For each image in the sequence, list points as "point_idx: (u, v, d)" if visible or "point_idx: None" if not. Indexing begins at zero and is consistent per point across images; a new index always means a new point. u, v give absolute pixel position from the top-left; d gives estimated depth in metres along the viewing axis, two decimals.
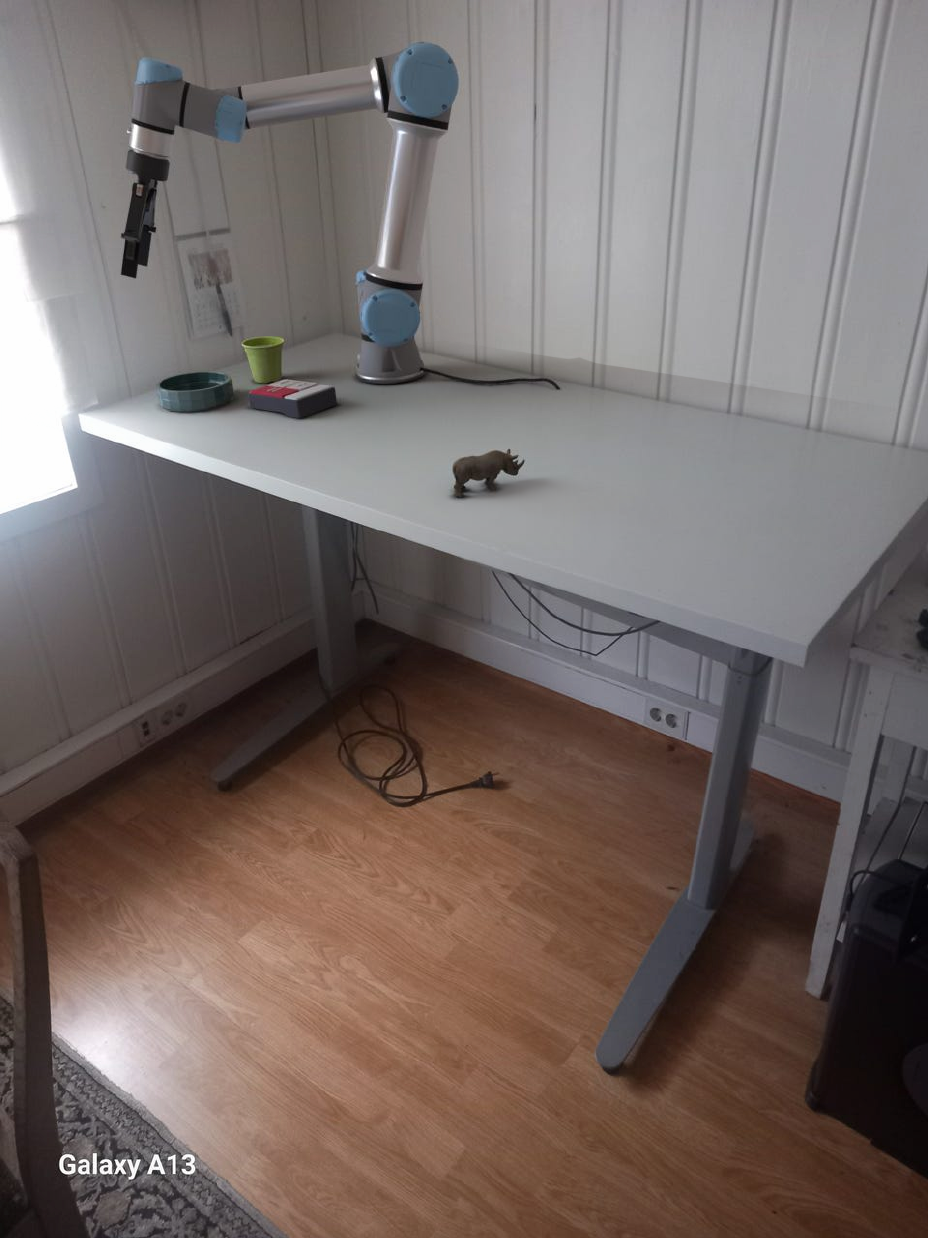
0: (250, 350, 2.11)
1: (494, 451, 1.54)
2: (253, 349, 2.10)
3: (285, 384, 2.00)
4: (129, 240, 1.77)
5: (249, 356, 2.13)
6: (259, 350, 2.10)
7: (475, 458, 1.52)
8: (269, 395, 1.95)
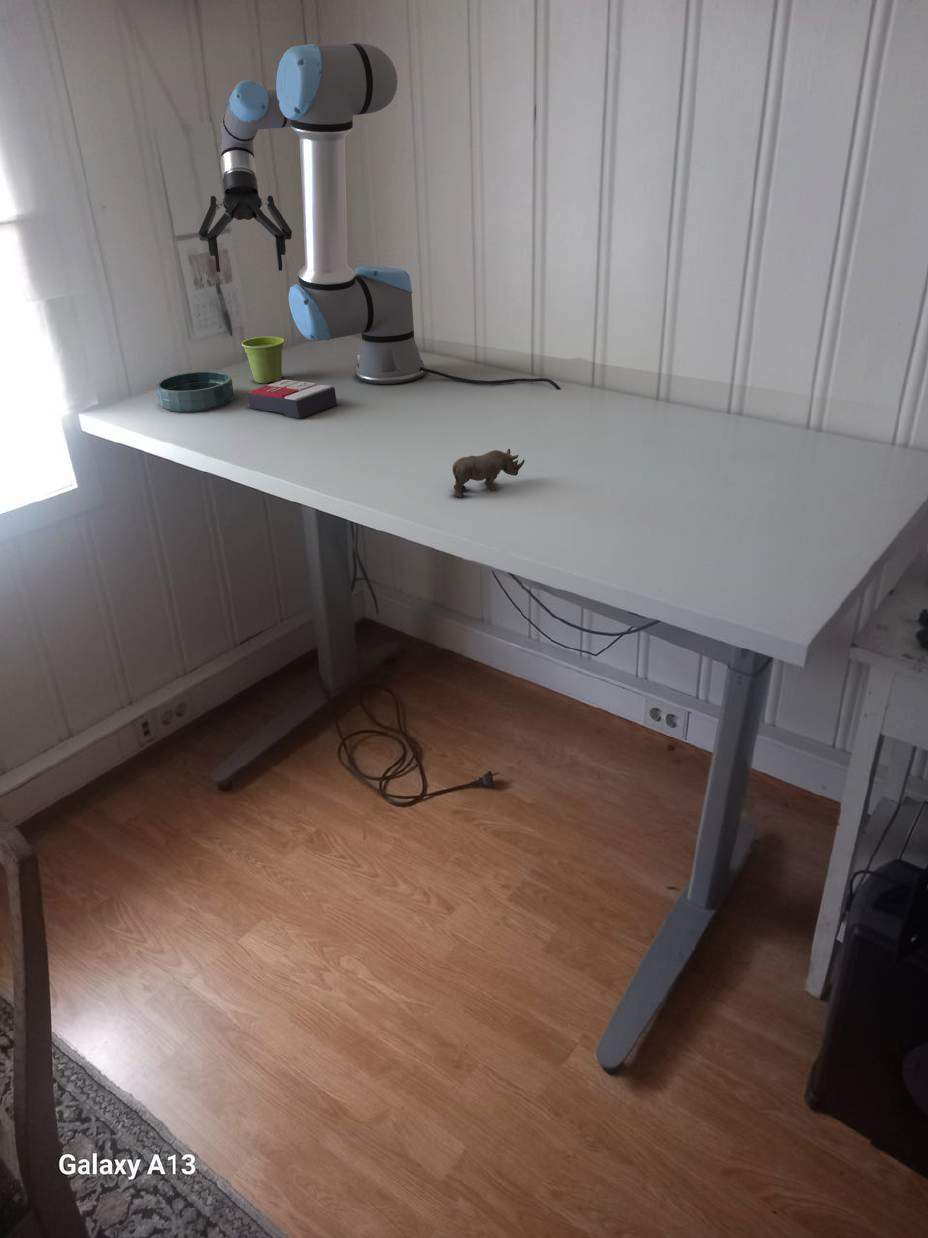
0: (250, 350, 2.11)
1: (494, 451, 1.54)
2: (253, 349, 2.10)
3: (284, 384, 2.00)
4: None
5: (249, 356, 2.13)
6: (259, 350, 2.10)
7: (475, 458, 1.52)
8: (269, 395, 1.95)
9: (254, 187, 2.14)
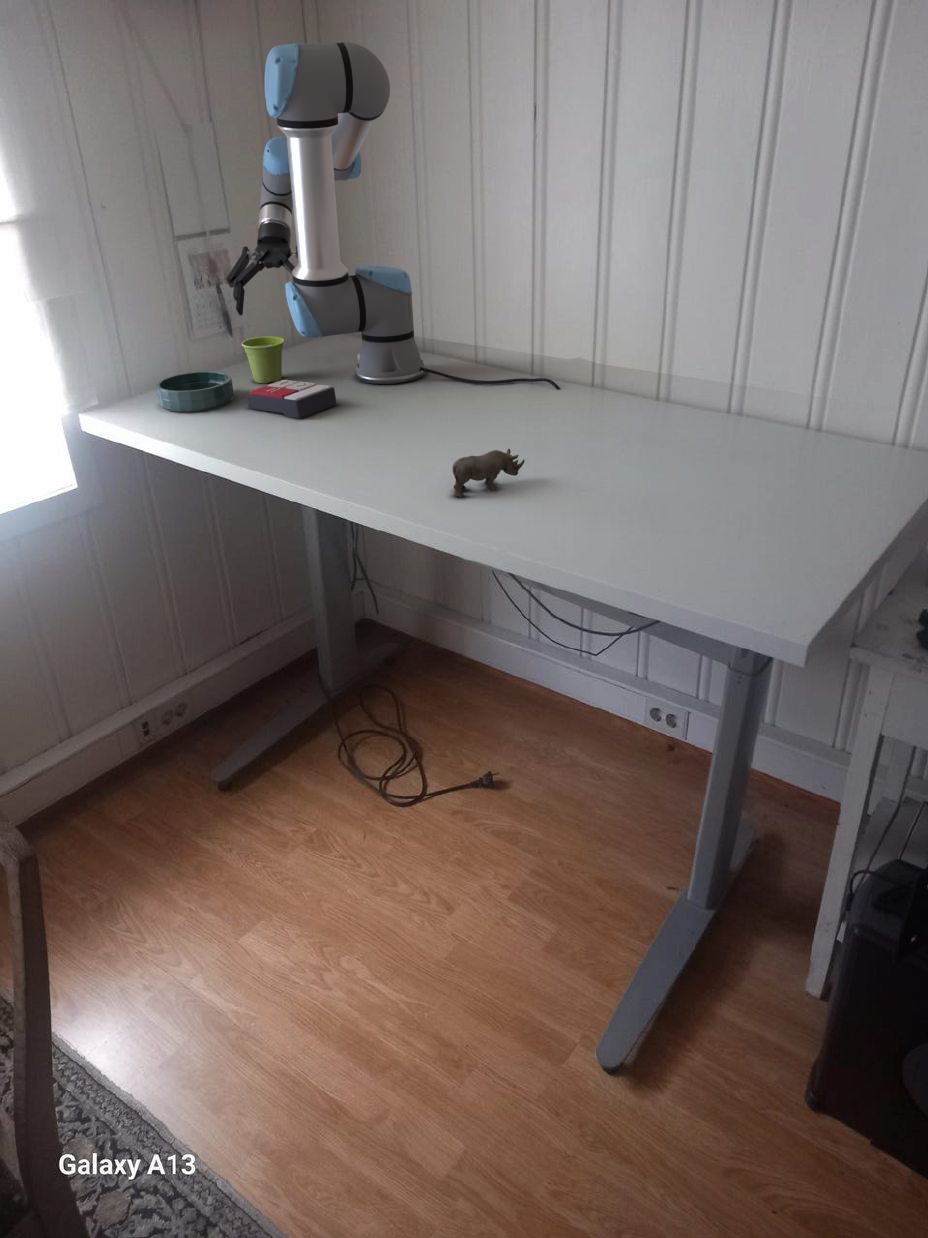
0: (250, 350, 2.11)
1: (494, 451, 1.54)
2: (253, 349, 2.10)
3: (284, 384, 2.00)
4: (234, 287, 2.22)
5: (249, 356, 2.13)
6: (259, 350, 2.10)
7: (475, 458, 1.52)
8: (268, 395, 1.95)
9: (283, 237, 2.21)
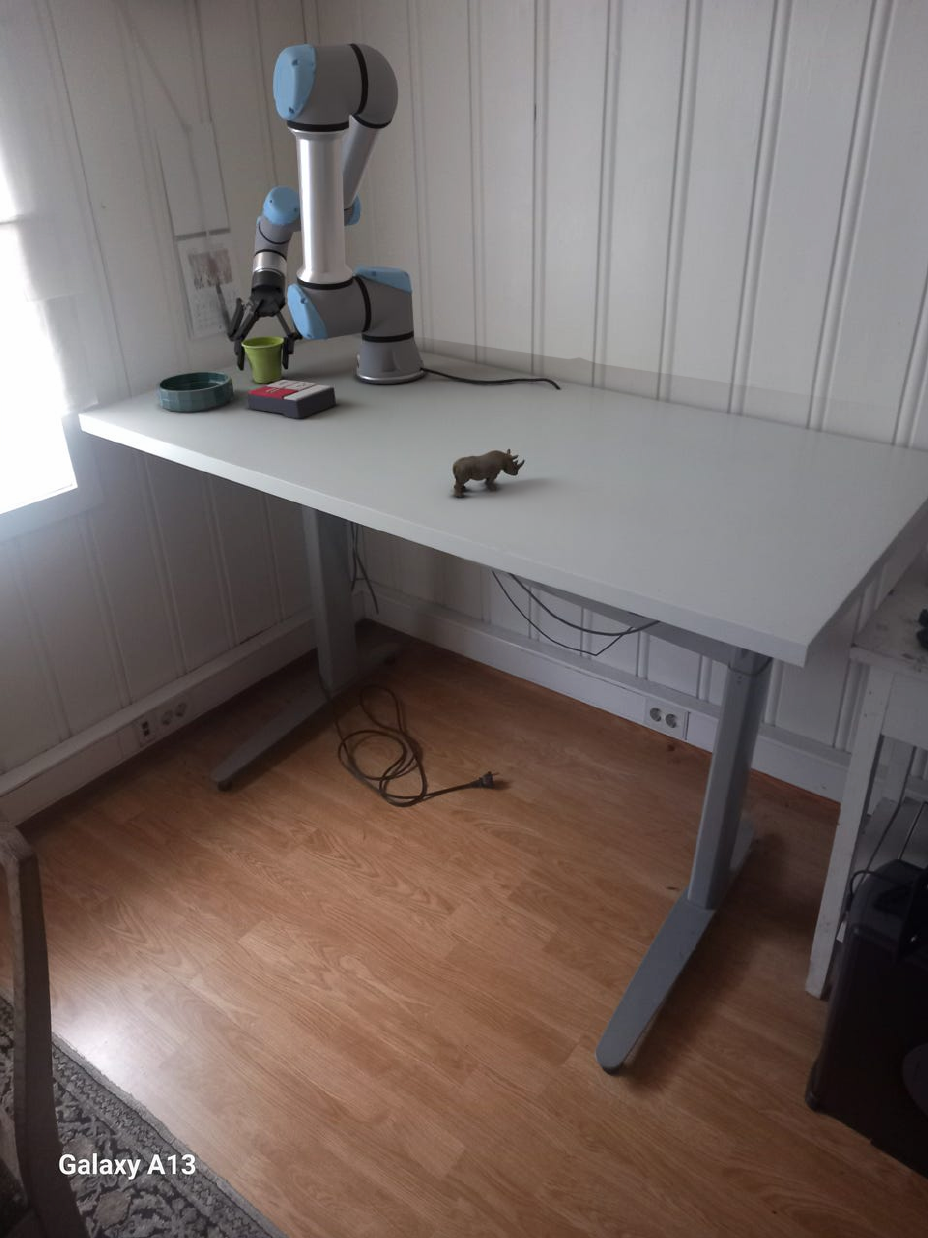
0: (250, 350, 2.11)
1: (494, 451, 1.54)
2: (253, 349, 2.10)
3: (283, 385, 2.00)
4: (235, 341, 2.16)
5: (249, 356, 2.13)
6: (259, 350, 2.10)
7: (475, 458, 1.52)
8: (268, 396, 1.95)
9: (278, 286, 2.16)
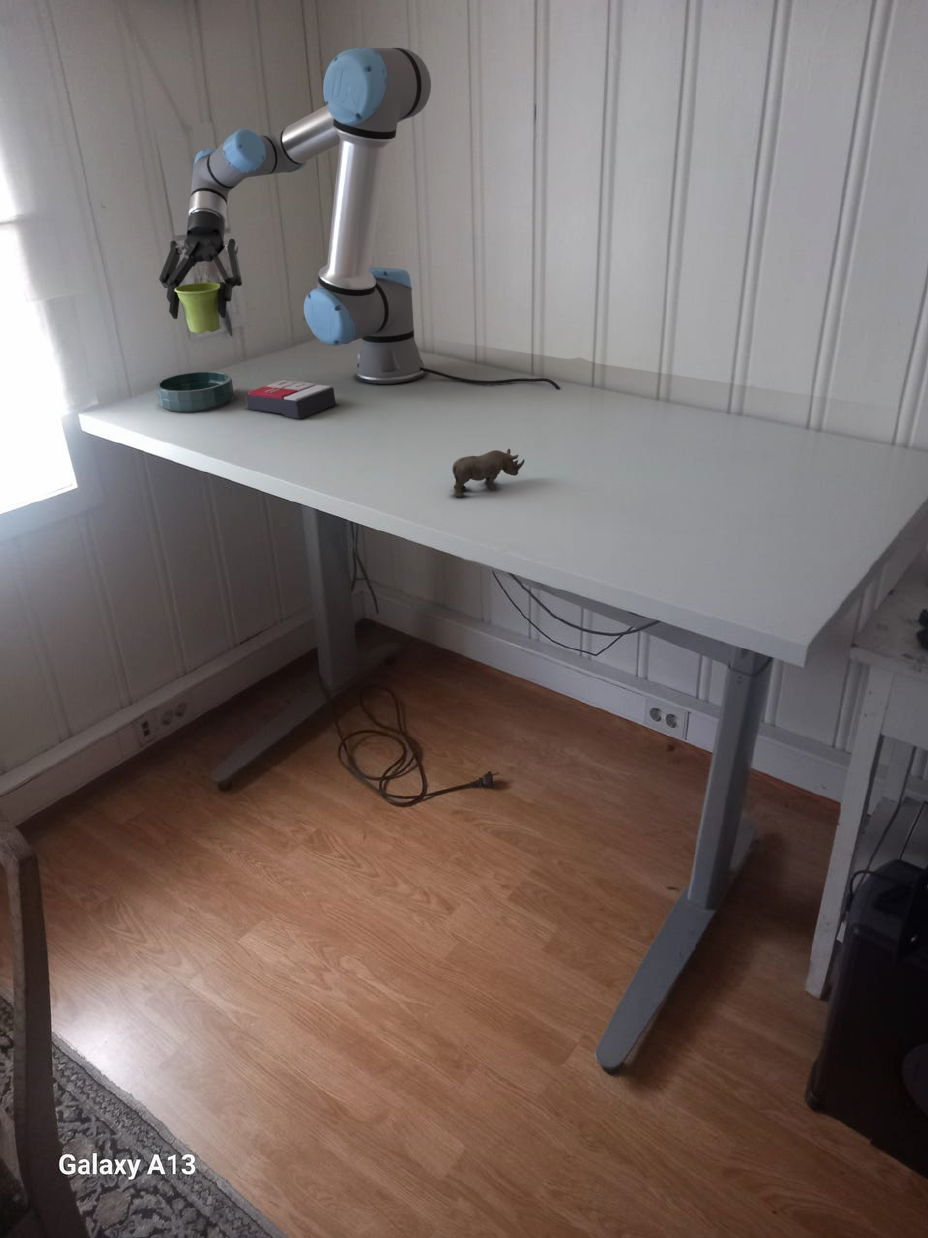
0: (183, 295, 1.95)
1: (494, 451, 1.54)
2: (186, 294, 1.94)
3: (283, 385, 2.00)
4: None
5: (183, 303, 1.97)
6: (193, 296, 1.94)
7: (474, 458, 1.52)
8: (268, 396, 1.94)
9: (215, 227, 2.00)
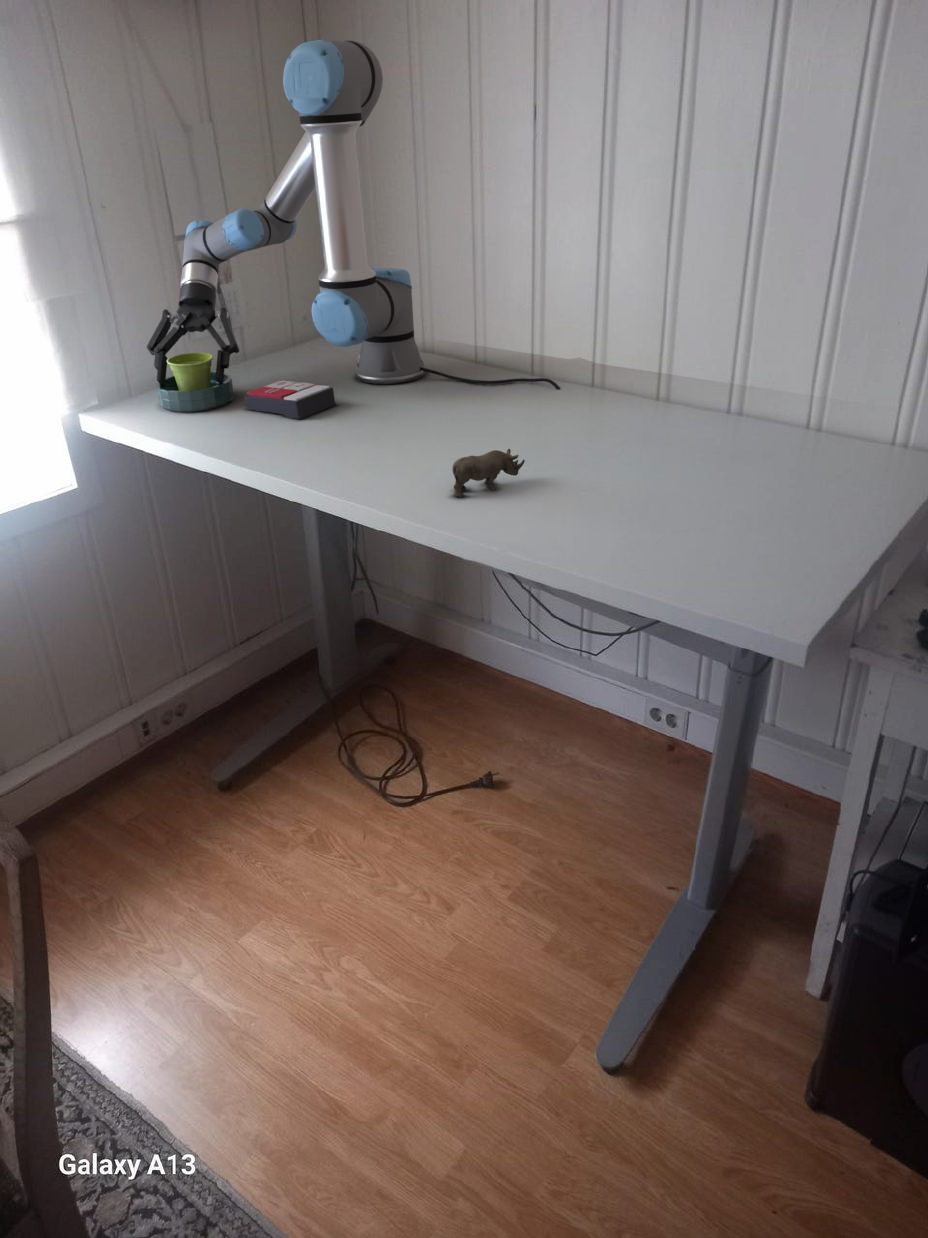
0: (175, 367, 1.98)
1: (494, 451, 1.54)
2: (178, 367, 1.97)
3: (282, 385, 2.00)
4: None
5: (175, 374, 2.00)
6: (185, 368, 1.97)
7: (475, 458, 1.52)
8: (267, 396, 1.94)
9: (207, 298, 2.03)
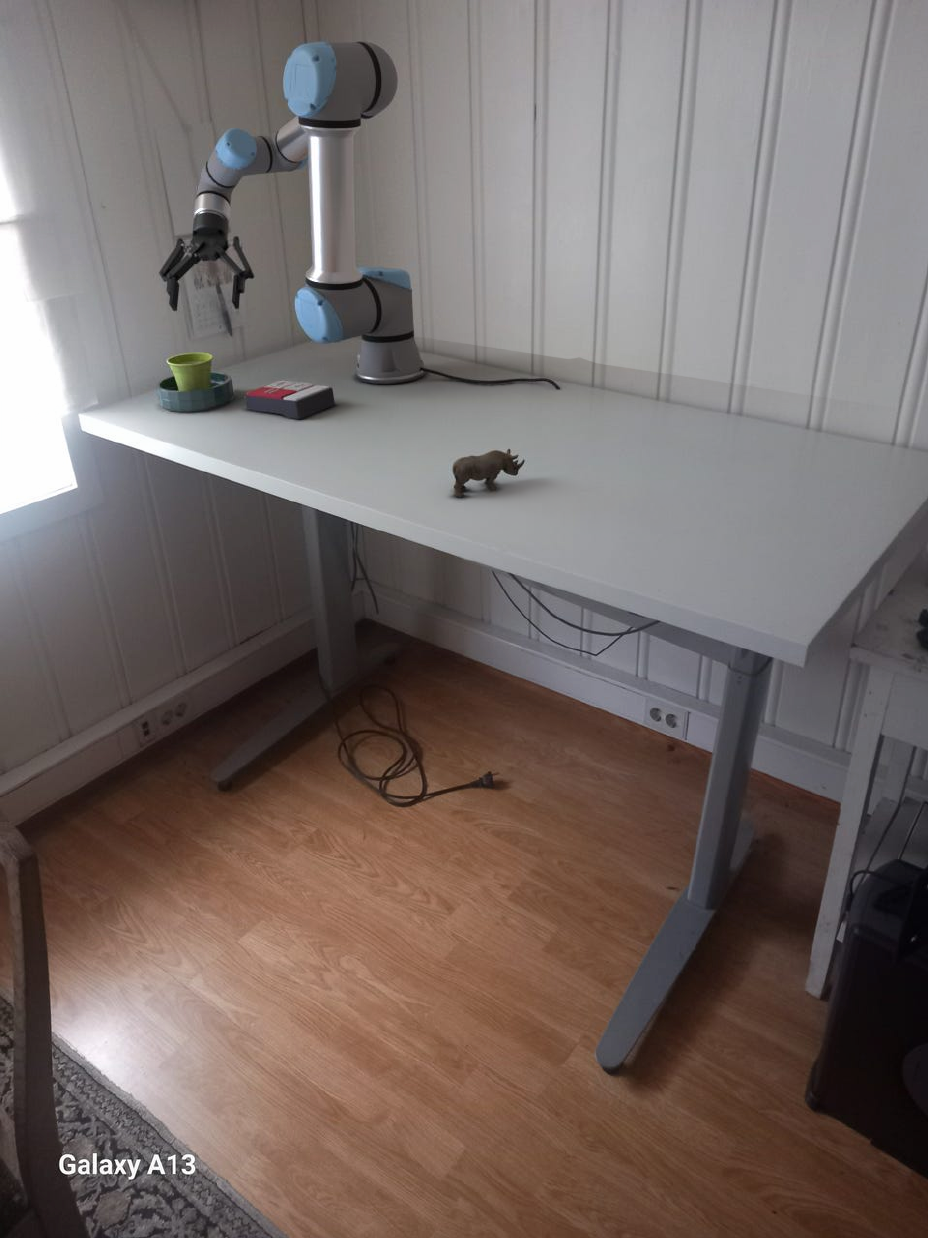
0: (175, 367, 1.98)
1: (494, 451, 1.54)
2: (178, 367, 1.97)
3: (281, 385, 2.00)
4: None
5: (175, 374, 2.00)
6: (185, 368, 1.97)
7: (475, 458, 1.52)
8: (267, 396, 1.94)
9: (220, 228, 2.09)
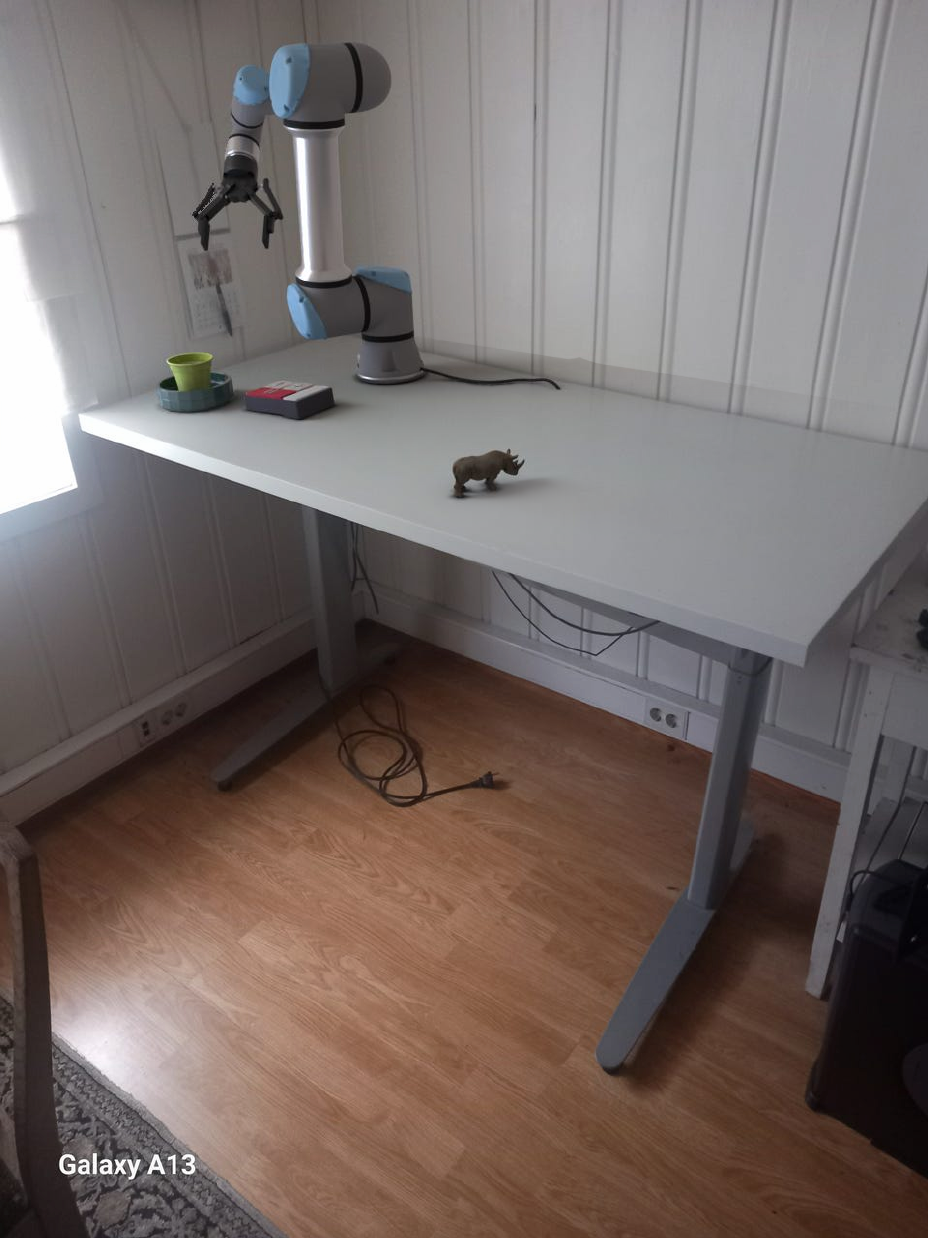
0: (175, 367, 1.98)
1: (494, 451, 1.54)
2: (178, 367, 1.97)
3: (281, 385, 2.00)
4: (199, 222, 2.14)
5: (175, 374, 2.00)
6: (185, 368, 1.97)
7: (474, 458, 1.52)
8: (266, 397, 1.94)
9: (250, 170, 2.14)
